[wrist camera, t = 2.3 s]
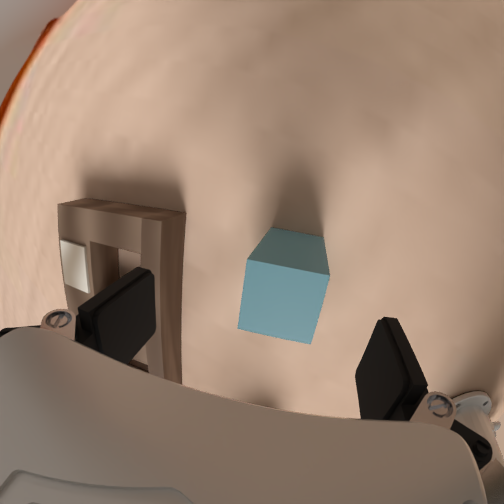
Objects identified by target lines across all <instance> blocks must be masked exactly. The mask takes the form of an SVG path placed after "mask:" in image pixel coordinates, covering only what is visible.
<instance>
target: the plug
mask: <svg viewBox="0 0 504 504" xmlns="http://www.w3.org/2000/svg"><path fill="white" fill-rule="evenodd" d="M329 277H330V273H329V267H328V260H327V254H326V249H325V243H324V237H319V236H314V235H309V234H304V233H299V232H294V231H289V230H283V229H278V228H273V227H271V228H270V230H269V231H268V232H267V234H266V235H265V236H264V238H263V239H262V240H261V242H260V243H259V244H258V245H257V247H256V248H255V249H254V251H253V252H252V253H251V255H250V256H249V257H248V259H247V263H246V271H245V278H244V285H243V292H242V300H241V307H240V314H239V322H238V329H241V330H245V331H250V332H254V333H258V334H263V335H267V336H272V337H276V338H281V339H286V340H291V341H296V342H301V343H306V344H311V342H312V338H313V335H314V332H315V328H316V325H317V322H318V318H319V315H320V311H321V308H322V304H323V300H324V297H325V293H326V289H327V285H328V281H329Z"/></svg>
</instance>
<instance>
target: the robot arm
mask: <svg viewBox="0 0 504 504" xmlns="http://www.w3.org/2000/svg"><path fill="white" fill-rule="evenodd" d="M78 313H79V314H78V315H76V316H75V314H74V313H73V312H72V311H70V310H67V309H56V310H53V311H50V312H49V313H47V314H46V315H45V316H44V317H43V319H42V322H41V325H38V326H27V327H15V328H4V329H2V330H1V331H0V504H504V459H503V456H502V453H501V451H500V448H499V446H498V443H497V441H496V438H495V437H496V432H495V431H496V430H498V429H499V428H500V425H501V424H500V422H499V421H497V422H493V423H492V422H491V420H490V418H489V416H488V415H489V413H490V410H491V405H492V402H491V399H490V398H489V396H488V394H486V393H485V392H482V391H473V392H469V393H465V394H463V395H460V396H457V397H455V398H453V399H451V398H450V397H449V396H447V395H446V394H443V393H441V392H436V391H435V392H430V393H429V392H428V390H427V386H428V384H427V381H426V379H425V377H424V374H423V372H422V370H421V367H420V365H419V363H418V361H417V358H416V356H415V354H414V352H413V350H412V348H411V346H410V343H409V341H408V339H407V337H406V335H405V333H404V331H403V329H402V327H401V325H400V323H399V321H398V319H397V318H390V317H383V318H382V320H378V321H377V323H376V326H375V328H374V331H373V333H372V336H371V338H370V340H369V343H368V345H367V347H366V350H365V352H364V354H363V357H362V359H361V361H360V363H359V365H358V367H357V370H356V374H355V379H356V386H357V393H358V400H359V408H360V416H361V419H354V418H341V417H330V416H321V415H313V414H306V413H299V412H293V411H287V410H281V409H275V408H270V407H265V406H260V405H255V404H251V403H246V402H242V401H238V400H234V399H230V398H226V397H222V396H218V395H214V394H211V393H207V392H204V391H200V390H197V389H194V388H190V387H187V386H184V385H181V384H178V383H175V382H172V381H169V380H166V379H163V378H160V377H158V376H155V375H152V374H149V373H147V372H144V371H142V370H139V369H137V368H134V367H132V366H129V365H127V364H128V363H129V362H130V361H131V360H132V359H133V358H134V356H135V355H136V354H137V353H138V352H139V351H140V349H141V348H142V347H143V346H144V345H145V344H146V343H147V341H148V340H149V339H150V338H151V337H152V336H153V335H154V333H155V331H156V308H155V277H154V274H152V272H151V270H149V269H145V268H141V267H137V268H135V269H133V270H132V271H130V272H129V273H127V274H126V275H124V276H123V277H121V278H120V279H118V280H117V281H115V282H114V283H112V284H111V285H109V286H108V287H106V288H105V289H103V290H102V291H101V292H99V293H98V294H96V295H95V296H93V297H92V298H90V299H89V300H88V301H86V302H85V303H83V304H82V305H80V306H79V307H78Z"/></svg>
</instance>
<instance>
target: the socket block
mask: <svg viewBox="0 0 504 504" xmlns="http://www.w3.org/2000/svg"><path fill="white" fill-rule="evenodd" d="M185 223H186V213H185V212H178V211H172V210H166V209H159V208H152V207H146V206H139V205H132V204H125V203H118V202H110V201H103V200H95V199H88V198H85V199H80V200H75V201H70V202H65V203H61V204H58V232H59V246H60V257H61V266H62V274H63V282H64V288H65V294H66V300H67V306H68V310H70V311H72V312H73V313H74V314H75V316H76V315H78V314H79V313H78V307H79V306H80V305H82V304H83V303H85V302H86V301H88V300H89V299H90V298H92V297H93V296H95V295H96V294H98V293H99V292H101V291H102V290H103V289H105V288H106V287H108V286H109V285H111V284H112V283H114V282H115V281H117V280H118V279H119V266H118V248H120V249H124V250H128V251H132V252H136V253H140V254H141V268H145V269H149V270H151V272H152V274H154V277H155V308H156V331H155V333H154V335H153V336H152V337H151V338H150V339H149V340H148V341H147V343H146V344H145V345H144V346H143V347H142V348H141V349H140V351H139V352H138V353H137V354H136V355H135V356H134V358H133V359H134V360H136V361H139V362H141V363H144V364H146V365H148V371H149V372H148V371H146V370H143V369H141V368H138V367H136V366H134V365H132V364H129V363H128V364H127V365H129V366H132V367H134V368H137V369H139V370H142V371H144V372H147V373H149V374H152V375H155V376H158V377H160V378H163V379H166V380H169V381H172V382H175V383H178V384H181V385H182V368H181V302H182V272H183V252H184V236H185Z"/></svg>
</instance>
